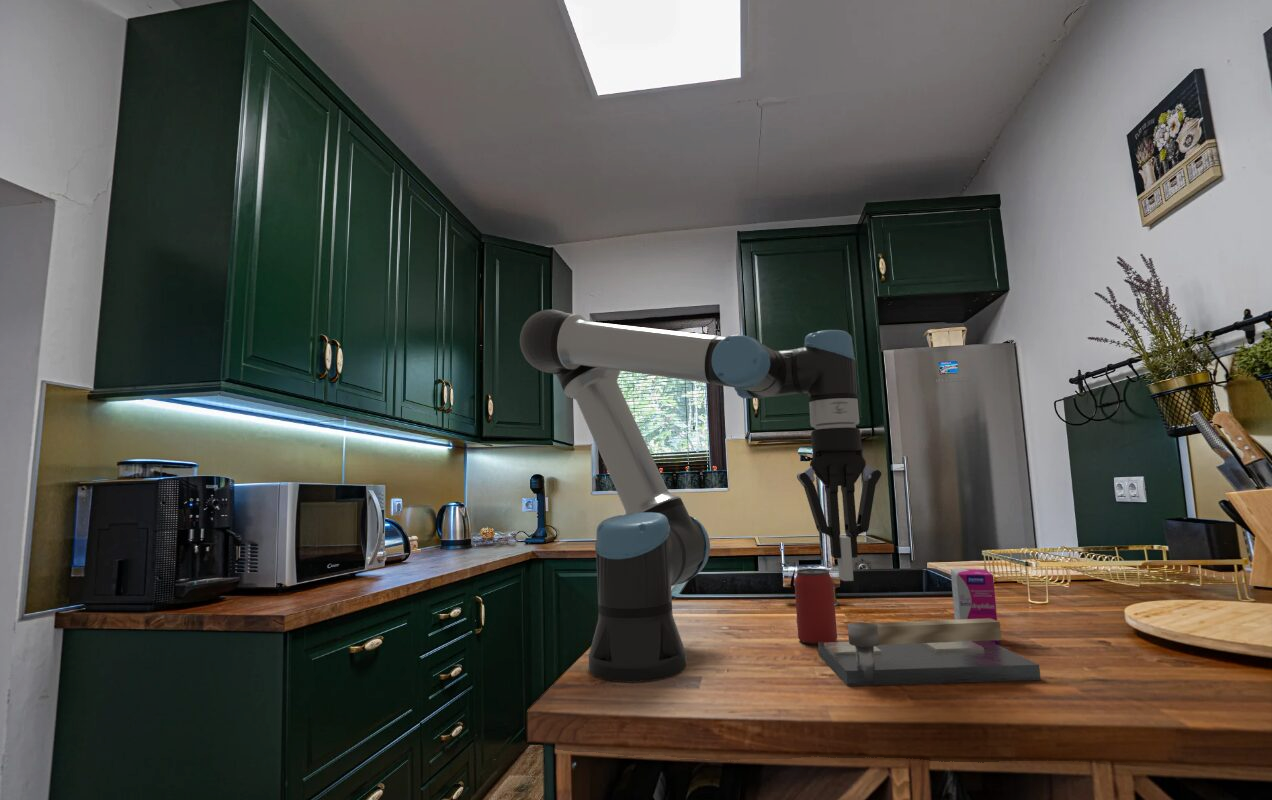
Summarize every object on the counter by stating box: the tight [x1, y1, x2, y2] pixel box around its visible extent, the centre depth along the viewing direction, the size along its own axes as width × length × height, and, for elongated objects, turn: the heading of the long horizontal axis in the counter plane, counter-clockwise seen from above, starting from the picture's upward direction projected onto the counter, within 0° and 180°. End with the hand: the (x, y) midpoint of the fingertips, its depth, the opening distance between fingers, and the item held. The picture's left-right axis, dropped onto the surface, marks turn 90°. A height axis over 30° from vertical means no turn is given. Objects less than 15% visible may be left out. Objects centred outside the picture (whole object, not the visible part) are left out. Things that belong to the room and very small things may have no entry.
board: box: [817, 640, 1042, 687], centre depth 98 cm, size 26×16×2 cm, turn 88°
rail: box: [847, 618, 1002, 647], centre depth 92 cm, size 20×4×2 cm, turn 90°
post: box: [855, 646, 875, 687], centre depth 92 cm, size 2×2×5 cm
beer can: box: [794, 568, 838, 646], centre depth 116 cm, size 7×7×12 cm
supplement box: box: [950, 568, 1000, 646], centre depth 112 cm, size 6×6×12 cm
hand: (846, 579), depth 103 cm, fingers closed
